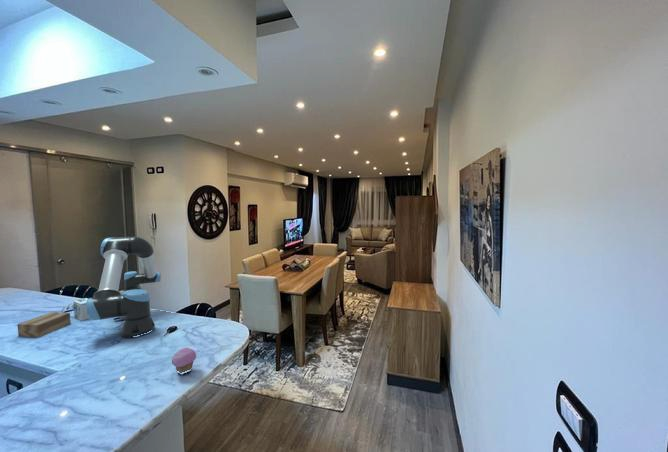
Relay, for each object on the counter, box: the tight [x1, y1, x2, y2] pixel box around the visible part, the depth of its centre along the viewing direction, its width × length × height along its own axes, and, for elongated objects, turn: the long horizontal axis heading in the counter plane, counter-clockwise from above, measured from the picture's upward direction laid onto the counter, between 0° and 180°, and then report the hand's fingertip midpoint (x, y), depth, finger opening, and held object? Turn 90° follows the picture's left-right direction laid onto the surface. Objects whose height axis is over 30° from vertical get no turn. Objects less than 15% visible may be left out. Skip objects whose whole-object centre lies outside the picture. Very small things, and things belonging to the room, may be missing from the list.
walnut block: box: [17, 311, 72, 338], centre depth 149 cm, size 12×16×7 cm
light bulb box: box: [72, 297, 90, 322], centre depth 166 cm, size 11×7×11 cm, turn 62°
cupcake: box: [171, 347, 197, 373], centre depth 111 cm, size 9×9×10 cm
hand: (78, 308), depth 163 cm, fingers open, 13 cm apart
